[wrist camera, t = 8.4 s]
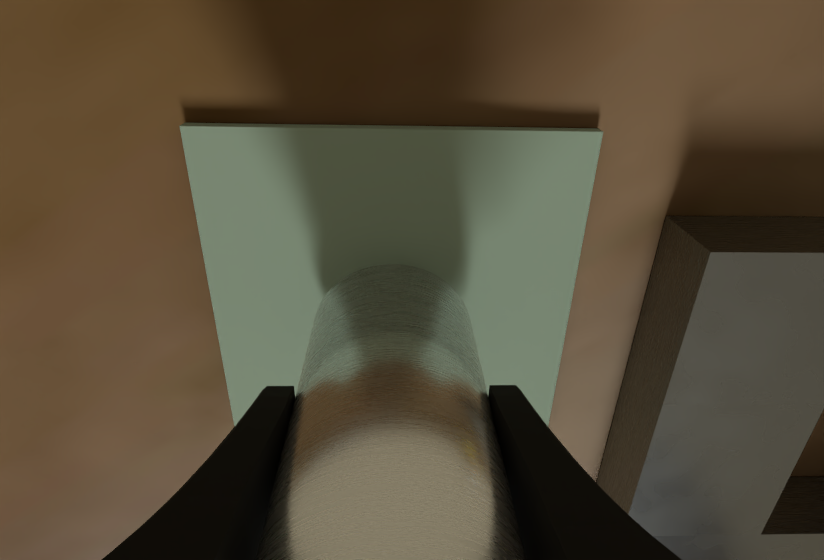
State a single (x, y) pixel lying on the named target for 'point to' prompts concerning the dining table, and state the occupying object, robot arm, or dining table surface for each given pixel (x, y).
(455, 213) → the mat
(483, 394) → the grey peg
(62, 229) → the dining table surface
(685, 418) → the socket block
